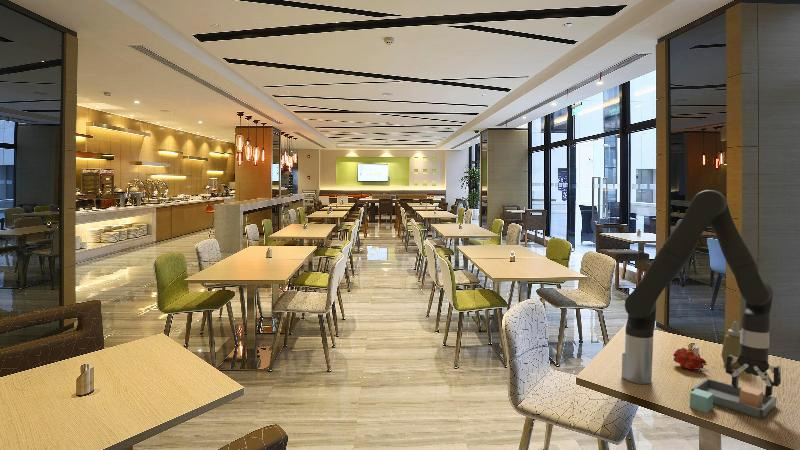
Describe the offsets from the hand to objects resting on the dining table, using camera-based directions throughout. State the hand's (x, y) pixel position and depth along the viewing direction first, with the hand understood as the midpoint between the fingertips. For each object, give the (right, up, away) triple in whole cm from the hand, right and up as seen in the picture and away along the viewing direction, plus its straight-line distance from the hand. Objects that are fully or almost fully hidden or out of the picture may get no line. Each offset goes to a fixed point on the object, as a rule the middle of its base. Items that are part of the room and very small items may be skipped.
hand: (751, 391), depth 154 cm
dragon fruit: (0, -3, +33) cm, 33 cm away
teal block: (-16, -5, 0) cm, 17 cm away
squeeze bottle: (+18, -2, +35) cm, 40 cm away
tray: (-3, -5, +4) cm, 7 cm away
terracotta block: (0, -5, 0) cm, 4 cm away
